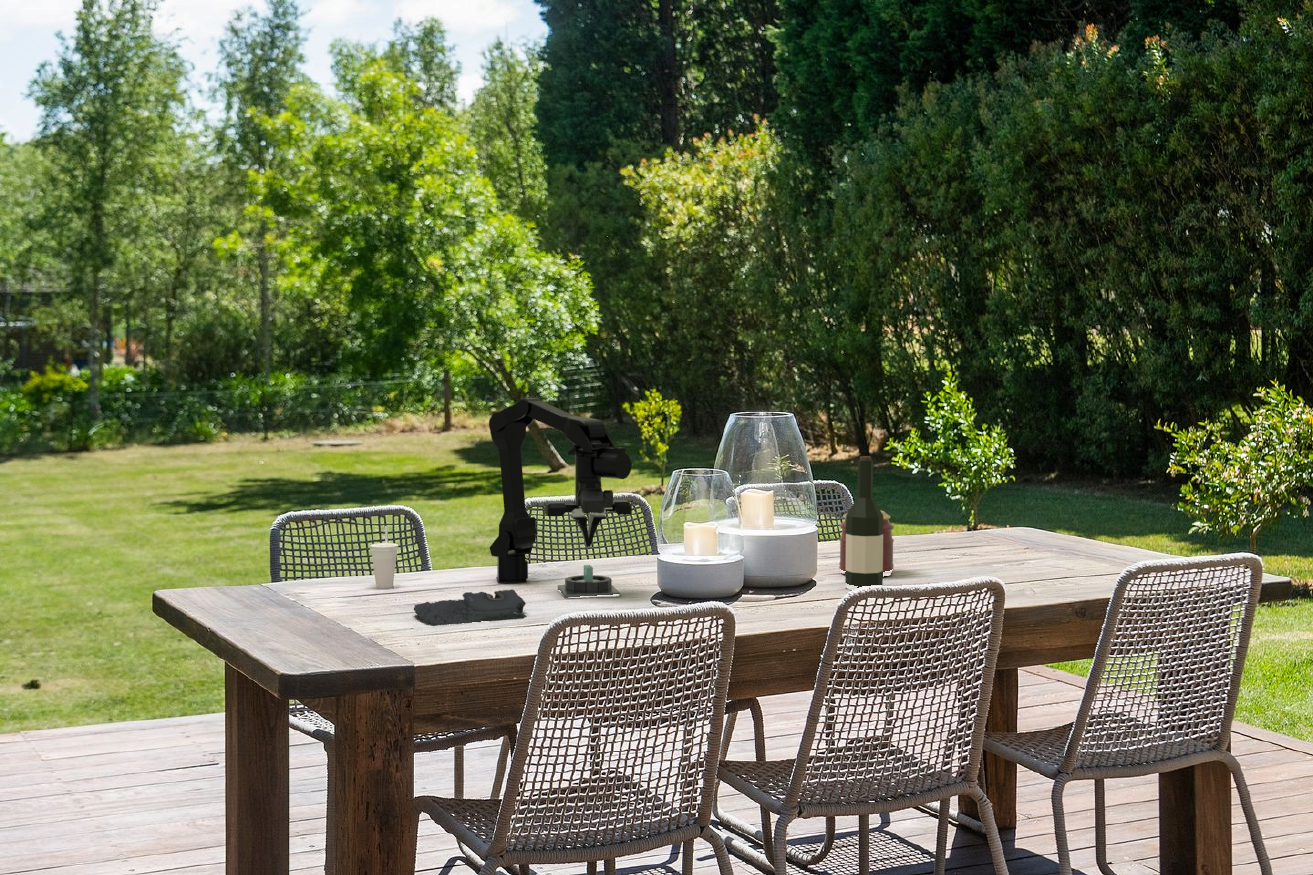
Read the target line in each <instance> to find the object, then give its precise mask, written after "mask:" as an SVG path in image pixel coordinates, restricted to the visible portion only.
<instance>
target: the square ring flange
mask: <svg viewBox="0 0 1313 875" xmlns="http://www.w3.org/2000/svg"><path fill="white" fill-rule="evenodd" d="M578 580H584V574H582V575H572V576H568V577H566V578H564V584H557V590H560V591H561V593H562V594H563V595H564V596H565V598H568V597H580V596H597V595H613V594H620V595H621V592H620V591H619V590H618V589H617V588H616V587H615V586H614V585H613V584H612V582H613V580H612V578H611V577H610V576H605V575H598V574H597V575H596V574H595V575H594V574H593V580H599V581H596V582H581V581H578ZM561 593H560V594H561ZM562 594H561V595H562ZM563 595H562V596H563ZM565 598H564V599H565Z"/></svg>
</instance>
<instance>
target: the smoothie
mask: <svg viewBox="0 0 1313 875" xmlns="http://www.w3.org/2000/svg"><path fill="white" fill-rule="evenodd" d="M388 532H389V531H388V525H385V526H384V539H385V540H384V542H380V543H378V542H377V543H372V544H370V545H369V550H370V551H371V558H372V565H373V573H374V574H373V575H374V579H375V587H376V589H380V590H383V589H384V590H385V589H386V590H387V589H392V588H394V581H395V571H396V562H397V555H398V554H397V553H398V550H399V544H398V543H393V542H389V540H388V537H389V536H388Z"/></svg>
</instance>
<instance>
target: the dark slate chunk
mask: <svg viewBox="0 0 1313 875" xmlns="http://www.w3.org/2000/svg"><path fill="white" fill-rule="evenodd" d="M493 594H494V596H493ZM493 594H491V593H487V592H485V591H478V592H474V593H473V591H468V592H467V591H466V592H464V593H462V595H461V596H462V597H463V599H458V600H456V599H448V600H446V599H445V600H438V601H434V602H430V601H425V602H423V603H417V604H415V605H414V607H413V611H414V613H415V614H416V615H417V616H418V617H419V619H420V620H421V621H422V622H423V623H424V624H426V625H428V626H434V627H435V626H436V627H437V626H448V625H449V624H450V625H462V623H464V624H473V623H472V622H478V623H482V622H481V621H489V622H498V621H508V620H509V621H511V620H523V618H524V619H525V618H528V617H527V616H528V615H526V614H524V607H525V605H526V601H525V600H524V599H523V598H522V597H521V596H520V595H518V593H517V592H516V591H515V590H514V589H504V590H501V589H499V590H496V591H493ZM522 612H523V613H522ZM450 625H449V626H450Z"/></svg>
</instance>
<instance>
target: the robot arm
mask: <svg viewBox="0 0 1313 875" xmlns="http://www.w3.org/2000/svg"><path fill="white" fill-rule="evenodd" d="M534 421H537V422H539V423H542V424H544V425H547V426H548V427H551V428H552V429H555V430H557V431H559V432H560V433H562V434H563V435H564V436H565V438H566V440H568V441H570V442H571V443H572V444H573V446H572V448H571V449H569V450H568V451H567V455H568V456H575V459H574V462H575V464H574V465H575V466H574V470H575V471H574V474H575V478H574V480H575V481H574V486H575V490H574V497H575V498H574V501H575V503H566V502H564V501H563V500H547V501H546V502H545V504H544V514H545V515H546V516H547V517H563V516H564V515H565V514H566V513H570V515H569V516H570V518H571V519H573V520H575V521H576V523H577V525H578V528H579V530H580V532H581V536H582V539H583V541H584V544H585V547H586V548H590V547H591V546H592V544H593V541H594V540H593V539H594V536H595V534H596V532H597V530H598V526H599V525H600V523H601V521H602V520H605V519H607V516H606V513H607V512H613V513H616V514H617V515H619V516H621V515H622V516H625V515H633V506H632V503H631V502H630V501H628V500H627V499H614V491H613V489H607V490H606V489H605V490H602V488H603V487H602V478H606V479H617V480H625V479H627V478H628V477H629V476H630V474H631V471H632V461H631V458H630V456H629V455H628V454H627V453H626V448H625V447H615V444H614V443H613V440H612V439H611V437H610V435H609V433H608V432H607V430H606V427H605V423H604V422H603V421H602V420H601V419H597V418H593V417H592V418H591V417H587V416H578V415H573V414H571V413H570V412H566V411H565V410H562V409H560V408H558V407H555V406H553V405H551V404H548V403H547V402H544V401H542V400H541V399H539V398H537V397H528V398H527V397H525V398H522V399H521V400H519V401H518V402H516V403H515V404H512V405H510V406H508V407H505V408H504V409H502V410H501V411H495V412H494V413H492V415H491V417H490V418H489V421H488V428H489V432H490V437H491V440H492V442H493V443H494V445H495V446H496V448H497V449H498V453H499V463H500V465H499V466H500V477H501V486H502V499H503V500H502V501H503V511H504V512H503V514H502V517H501V519H500V522H499V523H498V536H497V537H496V539H495V540H494V541H493V542H492V543H491V545H490V546H489V552H490V555H491V557H496V558H497V559H496V560H497V561H496V562H497V563H496V564H497V566H496V567H497V576H496V578H495V579H496V581H497V582H498V584H516V583H518V584H519V583H527V582H528V581H527V580H528V578H529V562H528V560H527V559H526V555H529V554H530V555H531V554H532V550H533V546H534V544H535V543H536V539H537V535H538V530H537V519H536V517H535V516H530V514H529V513H528V511H527V508H526V498H525V486H524V475H523V474H524V473H523V462H522V451H521V450H522V446H523V444H524V441H525V439H526V437H527V427H529V426H530V425H532V424H533V423H534ZM585 514H587V515H588V517H587V516H586V515H585Z"/></svg>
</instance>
